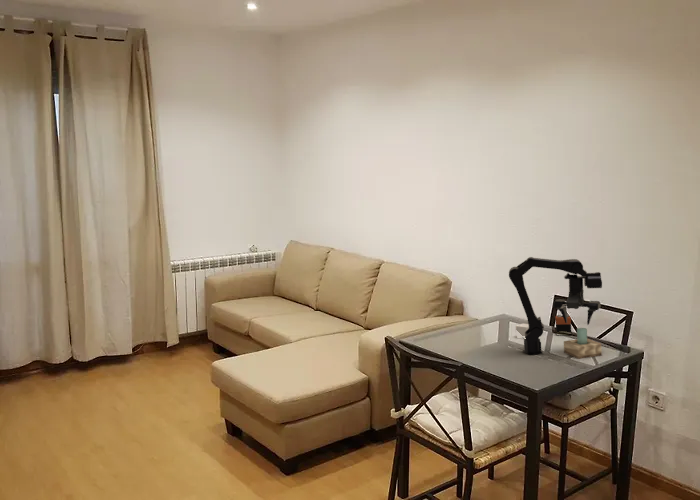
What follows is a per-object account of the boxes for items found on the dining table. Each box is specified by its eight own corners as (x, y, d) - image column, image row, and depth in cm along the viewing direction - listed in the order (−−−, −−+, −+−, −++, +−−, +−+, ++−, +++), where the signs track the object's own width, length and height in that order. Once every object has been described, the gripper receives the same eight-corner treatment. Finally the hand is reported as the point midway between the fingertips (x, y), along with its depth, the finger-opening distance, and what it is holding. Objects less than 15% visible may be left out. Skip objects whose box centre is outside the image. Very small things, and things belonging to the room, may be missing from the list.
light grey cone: (533, 336, 299) (533, 324, 298) (527, 339, 295) (526, 327, 294) (522, 335, 303) (522, 323, 303) (516, 337, 299) (515, 325, 299)
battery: (571, 335, 295) (570, 315, 294) (556, 335, 297) (555, 315, 296) (570, 333, 299) (569, 313, 298) (556, 333, 301) (555, 313, 300)
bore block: (578, 358, 259) (578, 347, 258) (564, 352, 269) (563, 341, 269) (601, 355, 261) (601, 343, 260) (586, 349, 272) (585, 338, 271)
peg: (581, 353, 263) (580, 330, 262) (575, 350, 266) (575, 328, 265) (589, 352, 263) (588, 329, 262) (583, 349, 267) (583, 327, 266)
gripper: (549, 291, 263) (550, 326, 265) (594, 292, 253) (595, 329, 254) (556, 286, 272) (557, 320, 274) (600, 288, 262) (601, 323, 264)
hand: (577, 323), depth 266 cm, fingers open, 9 cm apart
